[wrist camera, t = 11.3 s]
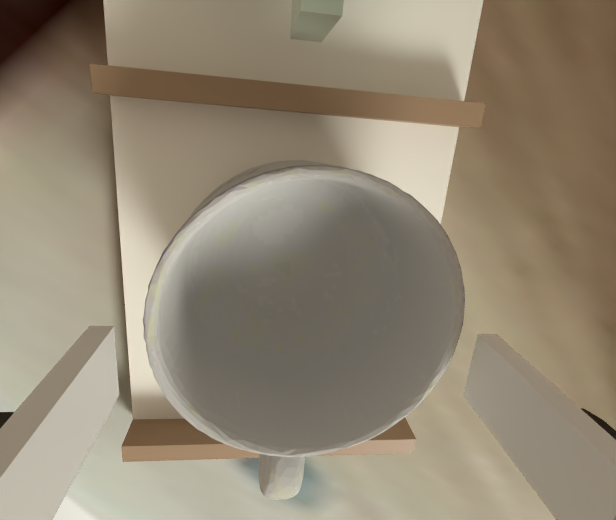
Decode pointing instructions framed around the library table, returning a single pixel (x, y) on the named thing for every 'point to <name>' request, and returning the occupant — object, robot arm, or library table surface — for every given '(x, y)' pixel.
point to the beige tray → (268, 136)
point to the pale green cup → (314, 18)
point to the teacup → (302, 313)
